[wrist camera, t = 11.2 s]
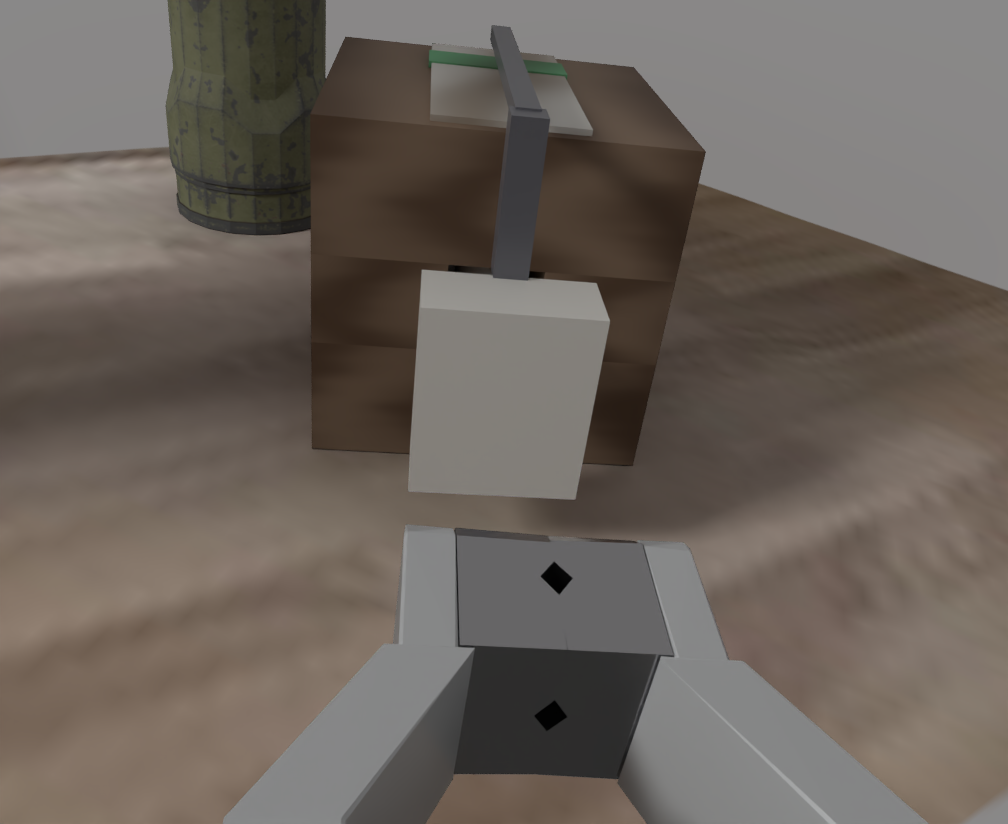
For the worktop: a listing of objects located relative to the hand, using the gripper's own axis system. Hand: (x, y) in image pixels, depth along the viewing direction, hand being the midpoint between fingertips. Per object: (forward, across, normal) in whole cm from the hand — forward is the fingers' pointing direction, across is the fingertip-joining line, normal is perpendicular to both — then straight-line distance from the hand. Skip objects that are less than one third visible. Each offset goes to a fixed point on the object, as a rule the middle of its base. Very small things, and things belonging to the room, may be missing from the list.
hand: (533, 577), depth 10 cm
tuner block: (+26, -2, +13) cm, 29 cm away
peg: (+22, -2, +10) cm, 24 cm away
